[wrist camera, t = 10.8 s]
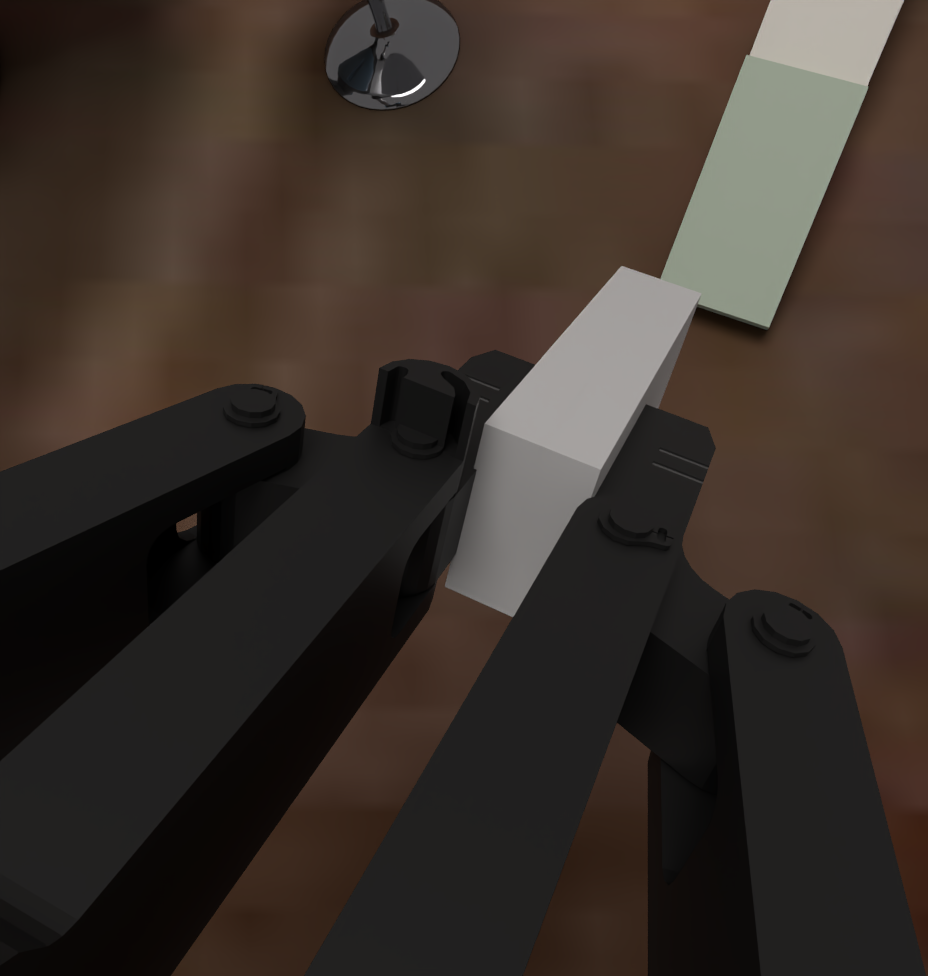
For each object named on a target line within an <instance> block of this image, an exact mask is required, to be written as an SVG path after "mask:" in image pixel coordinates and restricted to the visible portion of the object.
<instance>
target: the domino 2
mask: <svg viewBox="0 0 928 976" xmlns="http://www.w3.org/2000/svg"><path fill="white" fill-rule="evenodd" d="M868 88H869V87H868V86H864V85H860V84H857V83H853V82H849V81H845V80H841V79H837V78H834V77H830V76H826V75H822V74H818V73H815V72H811V71H807V70H803V69H799V68H795V67H792V66H788V65H784V64H780V63H776V62H772V61H769V60H765V59H761V58H757V57H753V56H749V55H746V57H745V60H744V63H743V65H742V68H741V70H740V73H739V76H738V78H737V81H736V83H735V86H734V89H733V91H732V94H731V96H730V99H729V102H728V104H727V107H726V110H725V112H724V115H723V117H722V120H721V123H720V125H719V128H718V130H717V133H716V136H715V138H714V141H713V143H712V146H711V149H710V151H709V154H708V156H707V159H706V162H705V164H704V167H703V169H702V172H701V175H700V177H699V180H698V182H697V185H696V188H695V190H694V193H693V195H692V198H691V201H690V203H689V206H688V208H687V211H686V214H685V216H684V219H683V221H682V224H681V227H680V229H679V232H678V234H677V237H676V240H675V242H674V245H673V247H672V250H671V253H670V255H669V258H668V260H667V263H666V266H665V268H664V271H663V273H662V276H661V280H664V281H667V282H670V283H673V284H676V285H679V286H682V287H684V288H687V289H690V290H693V291H696V292H699V293H702V294H701V297H700V300H699V302H698V305H697V307H699V308H702V309H705V310H708V311H711V312H714V313H717V314H720V315H723V316H726V317H729V318H732V319H735V320H738V321H741V322H744V323H747V324H750V325H753V326H756V327H759V328H762V329H765V330H768V328H769V326H770V324H771V322H772V319H773V317H774V314H775V312H776V310H777V307H778V305H779V302H780V300H781V297H782V295H783V293H784V290H785V288H786V285H787V283H788V281H789V278H790V276H791V273H792V271H793V269H794V266H795V264H796V261H797V259H798V256H799V254H800V252H801V249H802V247H803V244H804V242H805V240H806V237H807V235H808V232H809V230H810V228H811V225H812V223H813V220H814V218H815V215H816V213H817V211H818V208H819V206H820V203H821V201H822V199H823V196H824V194H825V191H826V189H827V187H828V184H829V182H830V179H831V177H832V174H833V172H834V170H835V167H836V165H837V162H838V160H839V158H840V155H841V153H842V150H843V148H844V145H845V143H846V141H847V138H848V136H849V133H850V131H851V129H852V126H853V124H854V121H855V119H856V117H857V114H858V112H859V109H860V107H861V104H862V102H863V100H864V97H865V95H866V92H867V90H868Z"/></svg>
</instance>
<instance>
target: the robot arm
mask: <svg viewBox="0 0 928 976" xmlns="http://www.w3.org/2000/svg"><path fill="white" fill-rule="evenodd" d="M701 294H702V293H699V292H696V291H693V290H690V289H687V288H684V287H682V286H679V285H676V284H673V283H670V282H667V281H664V280H661V279H658V278H655V277H652V276H650V275H647V274H644V273H641V272H638V271H635V270H632V269H629V268H626V267H623V266H621V267H620V268H619V270H618V271H617V272H616V273H615V274H614V275H613V276H612V278H611V279H610V280H609V281H608V282H607V283H606V285H605V286H604V287H603V288H602V289H601V290H600V291H599V293H598V294H597V295H596V296H595V297H594V298H593V299H592V301H591V302H590V303H589V304H588V305H587V306H586V308H585V309H584V310H583V311H582V312H581V313H580V314H579V316H578V317H577V318H576V319H575V320H574V321H573V322H572V324H571V325H570V326H569V327H568V328H567V329H566V331H565V332H564V333H563V334H562V335H561V336H560V337H559V339H558V340H557V341H556V342H555V343H554V344H553V345H552V347H551V348H550V349H549V350H548V351H547V352H546V354H545V355H544V356H543V357H542V358H541V359H540V360H539V362H538V363H537V364H536V365H534V364H531V363H529V362H526V361H524V360H521V359H518V358H516V357H513V356H510V355H508V354H505V353H502V352H500V351H497V350H494V351H490V352H487V353H484V354H481V355H478V356H474V357H471V358H470V359H469V360H468V361H467V362H466V363H465V364H464V365H463V366H462V367H461V368H460V369H459V370H458V371H457V370H456V369H454V368H452V367H450V366H447V365H443V364H439V363H436V362H432V361H426V360H414V359H408V360H401V361H393V362H391V363H389V364H387V365H384V366H382V367H380V368H379V374H378V381H377V387H376V394H375V400H374V407H373V414H372V420H371V424H370V425H369V426H368V427H367V428H366V429H364V430H363V431H362V432H361V433H360V434H359V435H358V436H357V437H352V436H344V435H336V434H331V433H326V432H321V431H316V430H311V429H306V428H305V418H306V415H305V412H304V410H303V407H302V405H301V404H300V403H299V402H298V401H297V400H296V399H295V398H294V397H293V396H291V395H290V394H287V393H285V392H283V391H281V390H278V389H276V388H273V387H269V386H263V385H259V384H234V385H230V386H226V387H222V388H217V389H215V390H212V391H210V392H207V393H204V394H202V395H199V396H197V397H194V398H191V399H189V400H186V401H184V402H181V403H178V404H176V405H173V406H170V407H168V408H165V409H163V410H160V411H157V412H155V413H152V414H150V415H147V416H144V417H142V418H139V419H137V420H134V421H131V422H129V423H126V424H124V425H121V426H118V427H116V428H113V429H111V430H108V431H105V432H103V433H100V434H98V435H95V436H92V437H90V438H87V439H85V440H82V441H79V442H77V443H74V444H72V445H69V446H66V447H64V448H61V449H59V450H56V451H53V452H51V453H48V454H46V455H43V456H40V457H38V458H35V459H32V460H30V461H27V462H25V463H22V464H19V465H17V466H14V467H12V468H9V469H6V470H4V471H1V472H0V976H171V974H172V973H173V971H174V970H175V969H176V967H177V966H178V964H179V963H180V961H181V960H182V959H183V957H184V956H185V954H186V953H187V952H188V950H189V949H190V947H191V946H192V944H193V943H194V942H195V940H196V939H197V937H198V936H199V935H200V933H201V932H202V930H203V929H204V927H205V926H206V925H207V923H208V922H209V920H210V919H211V918H212V916H213V915H214V913H215V912H216V910H217V909H218V908H219V906H220V905H221V903H222V902H223V901H224V899H225V898H226V896H227V895H228V893H229V892H230V891H231V889H232V888H233V886H234V885H235V883H236V882H237V881H238V879H239V878H240V876H241V875H242V874H243V872H244V871H245V869H246V868H247V866H248V865H249V864H250V862H251V861H252V859H253V858H254V857H255V855H256V854H257V852H258V851H259V849H260V848H261V847H262V845H263V844H264V842H265V841H266V840H267V838H268V837H269V835H270V834H271V832H272V831H273V830H274V828H275V827H276V825H277V824H278V823H279V821H280V820H281V818H282V817H283V815H284V814H285V813H286V811H287V810H288V808H289V807H290V805H291V804H292V803H293V801H294V800H295V798H296V797H297V796H298V794H299V793H300V791H301V790H302V788H303V787H304V786H305V784H306V783H307V781H308V780H309V779H310V777H311V776H312V774H313V773H314V771H315V770H316V769H317V767H318V766H319V764H320V763H321V762H322V760H323V759H324V757H325V756H326V754H327V753H328V752H329V750H330V749H331V747H332V746H333V745H334V743H335V742H336V740H337V739H338V737H339V736H340V735H341V733H342V732H343V730H344V729H345V728H346V726H347V725H348V723H349V722H350V720H351V719H352V718H353V716H354V715H355V713H356V712H357V710H358V709H359V708H360V706H361V705H362V703H363V702H364V701H365V699H366V698H367V696H368V695H369V693H370V692H371V691H372V689H373V688H374V686H375V685H376V684H377V682H378V681H379V679H380V678H381V676H382V675H383V674H384V672H385V671H386V669H387V668H388V667H389V665H390V664H391V662H392V661H393V659H394V658H395V657H396V655H397V654H398V652H399V651H400V650H401V648H402V647H403V645H404V644H405V642H406V641H407V640H408V638H409V637H410V635H411V634H412V633H413V631H414V630H415V628H416V627H417V625H418V624H419V623H420V621H421V620H422V618H423V617H424V615H425V614H426V613H427V611H428V610H429V607H430V604H431V602H432V599H433V595H434V591H435V587H436V582H437V579H438V578H439V576H440V575H441V574H442V572H443V571H444V570H445V568H446V567H447V566H448V564H449V563H450V561H451V563H450V568H449V572H448V576H447V580H446V584H445V587H447V588H449V589H451V590H454V591H456V592H458V593H460V594H462V595H465V596H467V597H469V598H471V599H474V600H476V601H478V602H480V603H482V604H485V605H487V606H489V607H491V608H494V609H496V610H498V611H500V612H503V613H505V614H507V615H509V616H511V617H513V618H512V620H511V622H510V623H509V625H508V627H507V629H506V630H505V632H504V634H503V636H502V637H501V639H500V641H499V642H498V644H497V646H496V648H495V649H494V651H493V653H492V654H491V656H490V658H489V660H488V661H487V663H486V665H485V666H484V668H483V670H482V672H481V673H480V675H479V677H478V678H477V680H476V682H475V684H474V685H473V687H472V689H471V690H470V692H469V694H468V696H467V697H466V699H465V701H464V702H463V704H462V706H461V708H460V709H459V711H458V713H457V714H456V716H455V718H454V720H453V721H452V723H451V725H450V726H449V728H448V730H447V732H446V733H445V735H444V737H443V738H442V740H441V742H440V744H439V745H438V747H437V749H436V750H435V752H434V754H433V756H432V757H431V759H430V761H429V762H428V764H427V766H426V768H425V769H424V771H423V773H422V774H421V776H420V778H419V780H418V781H417V783H416V785H415V786H414V788H413V790H412V792H411V793H410V795H409V797H408V798H407V800H406V802H405V804H404V805H403V807H402V809H401V811H400V812H399V814H398V816H397V817H396V819H395V821H394V823H393V824H392V826H391V828H390V829H389V831H388V833H387V835H386V836H385V838H384V840H383V841H382V843H381V845H380V847H379V848H378V850H377V852H376V853H375V855H374V857H373V859H372V860H371V862H370V864H369V865H368V867H367V869H366V871H365V872H364V874H363V876H362V877H361V879H360V881H359V883H358V884H357V886H356V888H355V889H354V891H353V893H352V895H351V896H350V898H349V900H348V901H347V903H346V905H345V907H344V908H343V910H342V912H341V913H340V915H339V917H338V919H337V920H336V922H335V924H334V925H333V927H332V929H331V931H330V932H329V934H328V936H327V937H326V939H325V941H324V943H323V944H322V946H321V948H320V949H319V951H318V953H317V955H316V956H315V958H314V960H313V961H312V963H311V965H310V967H309V968H308V970H307V972H306V974H305V975H304V976H523V973H524V971H525V968H526V965H527V963H528V960H529V957H530V954H531V952H532V949H533V946H534V944H535V941H536V938H537V936H538V933H539V930H540V928H541V925H542V922H543V919H544V917H545V914H546V911H547V909H548V906H549V903H550V901H551V898H552V895H553V893H554V890H555V887H556V884H557V882H558V879H559V876H560V874H561V871H562V868H563V866H564V863H565V860H566V858H567V855H568V852H569V849H570V847H571V844H572V841H573V839H574V836H575V833H576V831H577V828H578V825H579V822H580V820H581V817H582V814H583V812H584V809H585V806H586V804H587V801H588V798H589V796H590V793H591V790H592V787H593V785H594V782H595V779H596V777H597V774H598V771H599V769H600V766H601V763H602V761H603V758H604V755H605V752H606V750H607V747H608V744H609V742H610V739H611V736H612V734H613V731H614V728H615V725H616V723H618V724H620V725H621V726H622V727H623V728H624V729H626V730H627V731H628V732H629V733H631V734H632V735H633V736H634V737H636V738H637V739H638V740H639V741H640V742H642V743H643V744H644V745H645V746H647V747H648V748H649V749H650V750H651V752H650V756H649V760H648V976H926V974H925V970H924V966H923V962H922V958H921V954H920V950H919V946H918V942H917V938H916V935H915V931H914V927H913V923H912V919H911V915H910V911H909V907H908V903H907V899H906V895H905V891H904V887H903V884H902V880H901V876H900V872H899V868H898V864H897V860H896V856H895V852H894V848H893V844H892V840H891V836H890V833H889V829H888V825H887V821H886V817H885V813H884V809H883V805H882V801H881V797H880V793H879V789H878V786H877V782H876V778H875V774H874V770H873V766H872V762H871V758H870V754H869V750H868V746H867V742H866V738H865V735H864V731H863V727H862V723H861V719H860V715H859V711H858V707H857V703H856V699H855V695H854V691H853V687H852V684H851V680H850V676H849V672H848V668H847V664H846V660H845V656H844V652H843V648H842V646H841V644H840V642H839V640H838V638H837V636H836V634H835V632H834V630H833V629H832V628H831V627H830V626H829V625H828V624H827V623H826V622H825V621H824V620H823V619H822V618H821V617H820V616H819V615H818V614H817V613H816V612H814V611H813V610H811V609H810V608H808V607H806V606H805V605H803V604H802V603H800V602H799V601H797V600H794V599H792V598H789V597H787V596H784V595H781V594H779V593H776V592H770V591H762V590H750V591H745V592H740V593H737V594H736V595H734V596H733V597H732V598H731V599H730V600H729V599H728V598H726V597H725V596H723V595H722V594H720V593H719V592H717V591H716V590H714V589H713V588H712V587H711V586H709V585H708V584H707V583H706V582H704V581H703V580H702V579H701V578H700V577H699V576H698V575H697V574H696V573H695V571H694V570H693V569H692V568H691V566H690V565H689V563H688V561H687V560H686V558H685V556H684V552H683V548H682V541H683V535H684V533H685V530H686V527H687V524H688V522H689V519H690V516H691V514H692V511H693V508H694V505H695V503H696V500H697V497H698V495H699V492H700V489H701V487H702V483H703V481H704V478H705V476H706V473H707V470H708V467H709V465H710V462H711V460H712V457H713V454H714V451H715V449H716V448H715V445H714V442H713V440H712V437H711V434H710V431H709V429H708V427H705V426H702V425H700V424H697V423H694V422H692V421H689V420H687V419H684V418H681V417H679V416H676V415H673V414H671V413H668V412H665V411H663V410H660V409H658V407H659V405H660V402H661V400H662V397H663V394H664V392H665V389H666V386H667V384H668V381H669V378H670V376H671V373H672V371H673V368H674V365H675V363H676V360H677V357H678V355H679V352H680V350H681V347H682V344H683V342H684V339H685V336H686V334H687V331H688V328H689V326H690V323H691V321H692V318H693V315H694V313H695V310H696V307H697V305H698V302H699V300H700V297H701ZM195 513H197V525H196V526H194V527H192V528H190V529H188V530H186V531H182V532H178V533H177V530H176V523H177V522H179V521H181V520H183V519H185V518H187V517H189V516H191V515H193V514H195Z"/></svg>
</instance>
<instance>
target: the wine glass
mask: <svg viewBox="0 0 928 976" xmlns="http://www.w3.org/2000/svg"><path fill="white" fill-rule="evenodd" d="M459 49H460V35H459V30H458V26H457V24H456V21H455V19H454V17H453V16H452V14H451V13H450V11H449V10H448V9H447V8H446V7H445V6H444V5H443V4H442V3H440V2H439V1H437V0H363V1H361V2H359V3H357V4H356V5H355V6H353V7H352V8H351V9H349V10H348V11H347V12H346V13H345V14H344V15H343V16H342V17H341V18H340V19H339V21H338V22H337V23H336V25H335V26H334V28H333V29H332V31H331V34H330V36H329V38H328V41H327V44H326V48H325V57H324V63H325V71H326V74H327V76H328V79H329V81H330V83H331V85H332V86H333V88H334V89H335V90H336V91H337V92H338V94H339V95H340V96H342V97H343V98H344V99H346V100H347V101H349V102H350V103H352V104H355V105H357V106H359V107H363V108H366V109H371V110H394V109H399V108H403V107H407V106H409V105H412V104H414V103H417V102H419V101H421V100H422V99H424V98H426V97H427V96H429V95H430V94H432V93H433V92H434V91H435V90H437V89H438V88H439V87H440V86H441V85H442V83H443V82H444V81H445V80H446V79H447V78H448V76H449V74H450V73H451V71H452V70H453V68H454V65H455V63H456V61H457V58H458V54H459Z"/></svg>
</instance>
